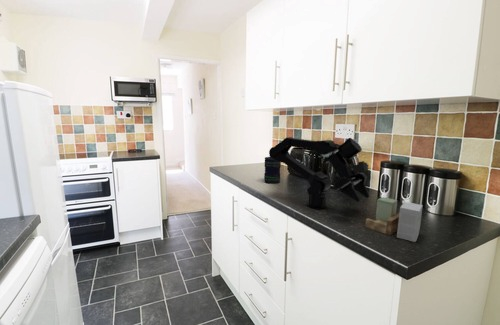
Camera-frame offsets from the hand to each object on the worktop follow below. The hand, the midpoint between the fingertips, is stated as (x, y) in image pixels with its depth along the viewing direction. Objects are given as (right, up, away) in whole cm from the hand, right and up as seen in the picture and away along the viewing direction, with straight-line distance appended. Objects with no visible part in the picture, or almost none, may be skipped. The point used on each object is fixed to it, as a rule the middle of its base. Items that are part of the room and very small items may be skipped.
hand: (363, 199), depth 100 cm
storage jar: (-30, +2, +59) cm, 67 cm away
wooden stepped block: (+5, -9, -5) cm, 11 cm away
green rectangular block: (+5, -9, -5) cm, 12 cm away
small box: (+9, -11, -13) cm, 19 cm away
